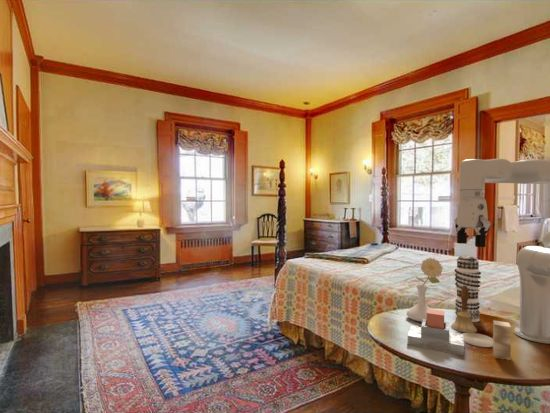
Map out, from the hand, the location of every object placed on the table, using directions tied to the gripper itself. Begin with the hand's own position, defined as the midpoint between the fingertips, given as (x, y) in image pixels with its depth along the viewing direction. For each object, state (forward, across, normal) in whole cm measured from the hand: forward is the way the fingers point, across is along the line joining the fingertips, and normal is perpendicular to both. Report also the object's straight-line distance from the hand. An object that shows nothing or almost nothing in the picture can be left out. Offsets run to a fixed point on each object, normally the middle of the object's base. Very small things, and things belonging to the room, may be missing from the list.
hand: (470, 245), depth 112 cm
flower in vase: (+32, +17, +7) cm, 37 cm away
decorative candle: (+32, +19, -12) cm, 39 cm away
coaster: (+32, -3, -1) cm, 32 cm away
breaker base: (+32, -4, +14) cm, 36 cm away
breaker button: (+26, -4, +14) cm, 30 cm away
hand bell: (+32, +8, -4) cm, 33 cm away
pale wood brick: (+32, -14, -1) cm, 35 cm away
